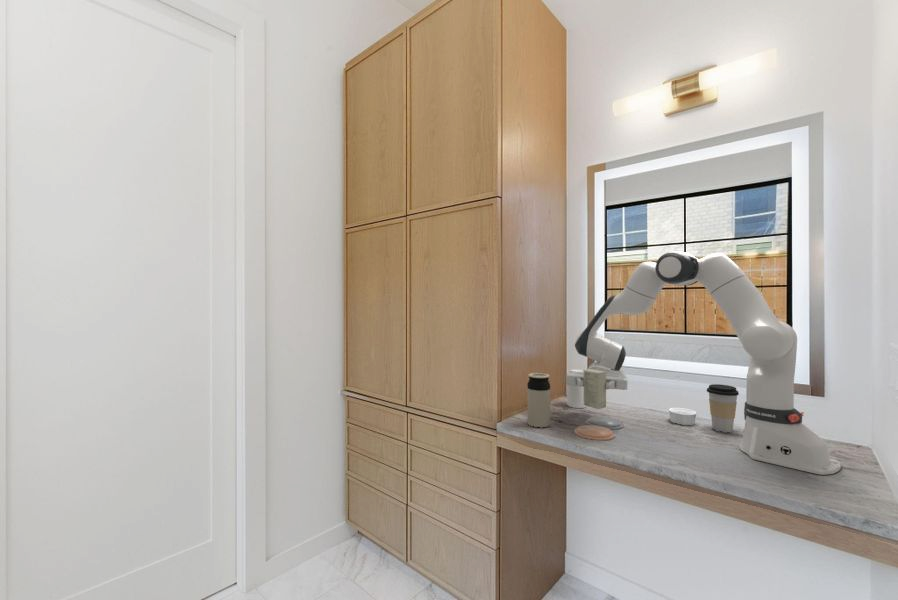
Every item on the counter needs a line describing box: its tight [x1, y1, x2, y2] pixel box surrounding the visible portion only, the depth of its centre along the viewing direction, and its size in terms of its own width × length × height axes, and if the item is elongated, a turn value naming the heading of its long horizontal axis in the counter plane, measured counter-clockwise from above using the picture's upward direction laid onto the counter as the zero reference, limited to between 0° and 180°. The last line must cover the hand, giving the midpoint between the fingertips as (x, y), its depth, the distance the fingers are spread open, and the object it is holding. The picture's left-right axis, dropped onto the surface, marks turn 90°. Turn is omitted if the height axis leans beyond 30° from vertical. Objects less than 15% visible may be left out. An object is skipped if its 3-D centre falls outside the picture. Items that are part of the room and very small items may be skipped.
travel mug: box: [526, 372, 551, 429], centre depth 149 cm, size 8×8×18 cm
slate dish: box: [585, 415, 625, 431], centre depth 151 cm, size 13×13×1 cm
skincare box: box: [583, 368, 607, 410], centre depth 140 cm, size 6×4×12 cm
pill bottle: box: [566, 369, 587, 409], centre depth 175 cm, size 8×8×15 cm
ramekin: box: [668, 407, 697, 426], centre depth 153 cm, size 9×9×4 cm
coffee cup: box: [705, 383, 740, 433], centre depth 144 cm, size 9×9×15 cm
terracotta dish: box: [573, 424, 616, 441], centre depth 140 cm, size 13×13×1 cm
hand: (594, 385), depth 139 cm, fingers closed on skincare box, 7 cm apart
